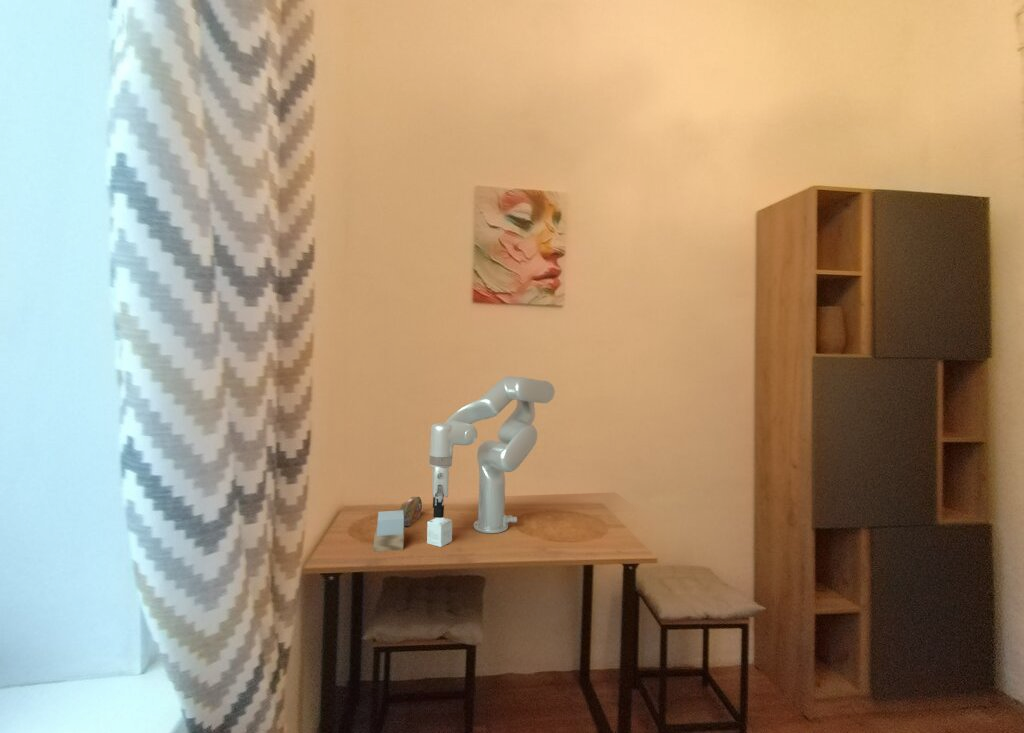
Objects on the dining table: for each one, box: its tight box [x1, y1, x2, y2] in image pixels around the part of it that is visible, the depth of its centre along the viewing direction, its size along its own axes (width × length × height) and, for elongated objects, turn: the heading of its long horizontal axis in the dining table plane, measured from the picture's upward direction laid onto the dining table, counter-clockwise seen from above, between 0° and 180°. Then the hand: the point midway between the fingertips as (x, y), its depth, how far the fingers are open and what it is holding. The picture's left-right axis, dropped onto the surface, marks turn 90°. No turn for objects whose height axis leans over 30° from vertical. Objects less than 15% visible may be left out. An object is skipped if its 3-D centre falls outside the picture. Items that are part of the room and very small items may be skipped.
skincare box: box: [426, 517, 453, 548], centre depth 148 cm, size 6×6×7 cm
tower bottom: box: [373, 525, 406, 552], centre depth 145 cm, size 9×9×5 cm
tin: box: [399, 496, 423, 527], centre depth 166 cm, size 15×3×8 cm, turn 168°
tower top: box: [376, 509, 405, 536], centre depth 145 cm, size 8×8×5 cm
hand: (437, 512), depth 147 cm, fingers open, 9 cm apart
